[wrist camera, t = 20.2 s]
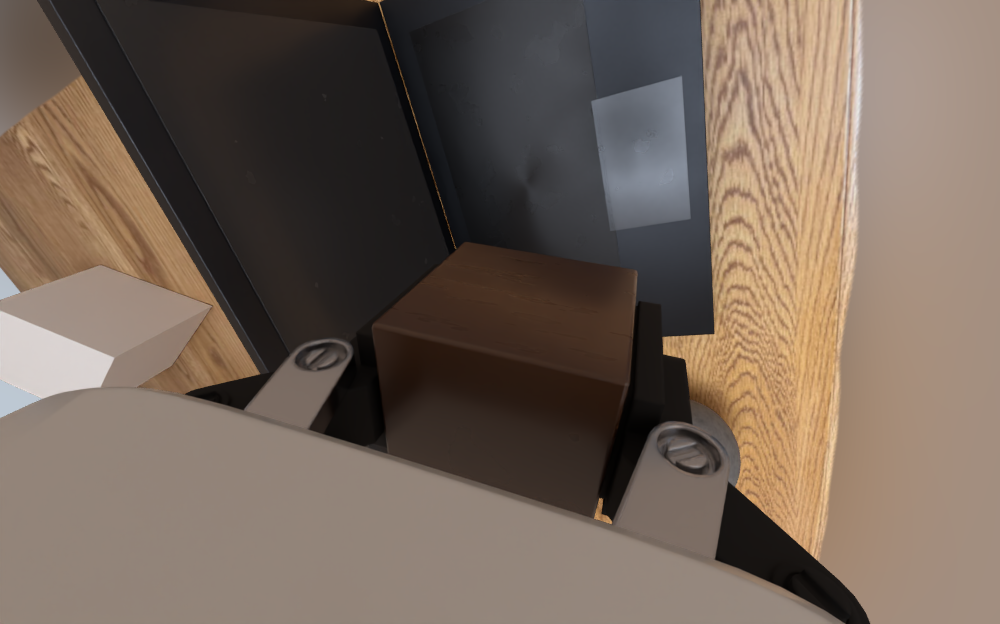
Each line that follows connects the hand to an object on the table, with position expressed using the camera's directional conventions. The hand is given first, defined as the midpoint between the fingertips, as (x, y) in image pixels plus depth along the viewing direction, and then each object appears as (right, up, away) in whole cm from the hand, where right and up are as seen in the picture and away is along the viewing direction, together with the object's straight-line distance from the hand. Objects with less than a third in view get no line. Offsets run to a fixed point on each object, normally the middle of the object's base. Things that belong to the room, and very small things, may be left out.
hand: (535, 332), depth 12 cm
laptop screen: (-10, +5, +17) cm, 20 cm away
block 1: (-56, 0, +52) cm, 76 cm away
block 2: (0, 0, 0) cm, 0 cm away
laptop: (+4, +12, +23) cm, 26 cm away
